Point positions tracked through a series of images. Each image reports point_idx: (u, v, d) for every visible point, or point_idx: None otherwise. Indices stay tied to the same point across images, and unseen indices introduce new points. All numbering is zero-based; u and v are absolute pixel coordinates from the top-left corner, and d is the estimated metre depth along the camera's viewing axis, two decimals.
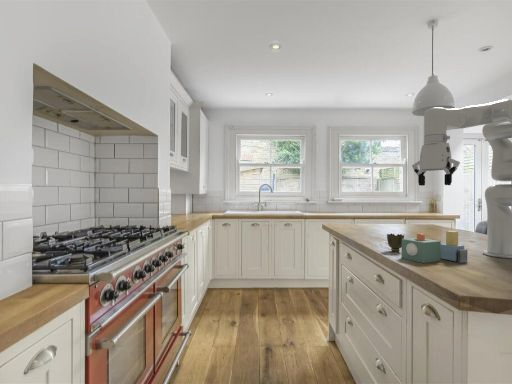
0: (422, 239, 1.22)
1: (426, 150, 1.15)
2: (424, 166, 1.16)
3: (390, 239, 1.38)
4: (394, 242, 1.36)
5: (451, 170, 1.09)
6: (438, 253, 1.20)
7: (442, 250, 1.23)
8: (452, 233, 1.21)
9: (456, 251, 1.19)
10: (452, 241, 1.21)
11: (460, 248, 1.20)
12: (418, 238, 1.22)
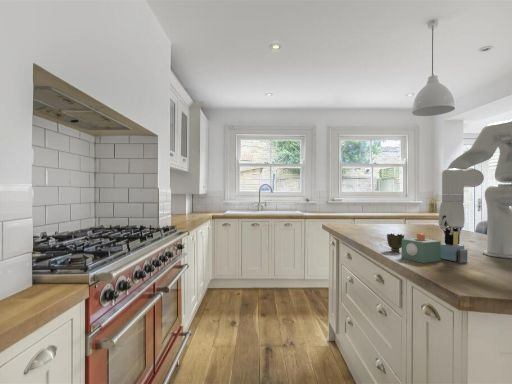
0: (422, 239, 1.22)
1: (455, 208, 1.19)
2: (453, 223, 1.19)
3: (390, 239, 1.38)
4: (394, 242, 1.36)
5: None
6: (438, 253, 1.20)
7: (442, 250, 1.23)
8: (452, 233, 1.21)
9: (456, 251, 1.19)
10: None
11: (460, 248, 1.20)
12: (418, 238, 1.22)
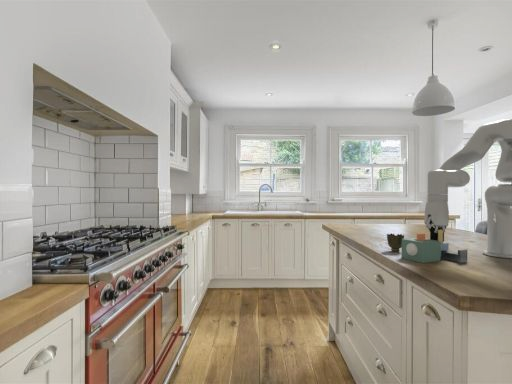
0: (422, 239, 1.22)
1: (440, 207, 1.25)
2: (437, 222, 1.25)
3: (390, 239, 1.38)
4: (394, 242, 1.36)
5: None
6: (438, 253, 1.20)
7: None
8: (437, 231, 1.26)
9: (440, 248, 1.25)
10: None
11: (444, 245, 1.26)
12: (418, 238, 1.22)
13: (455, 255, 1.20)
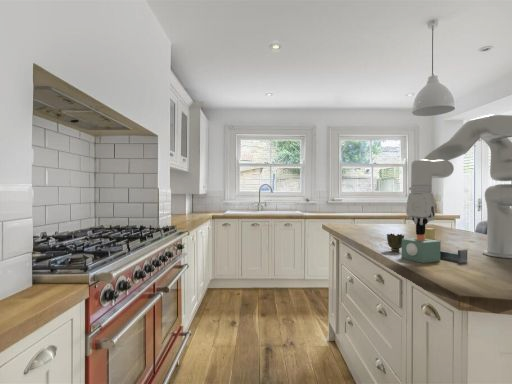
0: (422, 239, 1.22)
1: None
2: None
3: (390, 239, 1.38)
4: (394, 242, 1.36)
5: None
6: (438, 253, 1.20)
7: None
8: (429, 230, 1.30)
9: None
10: (429, 237, 1.30)
11: None
12: (418, 238, 1.22)
13: (455, 255, 1.20)
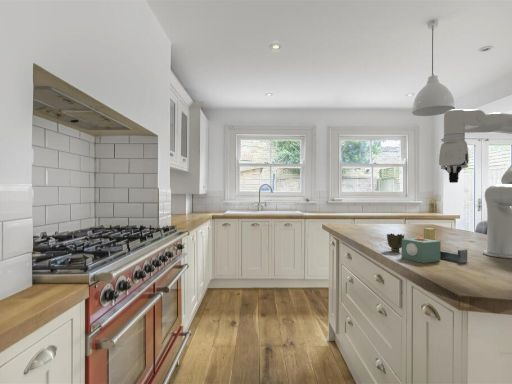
0: None
1: None
2: None
3: (390, 239, 1.38)
4: (394, 242, 1.36)
5: None
6: (438, 253, 1.20)
7: None
8: (429, 230, 1.30)
9: None
10: (429, 237, 1.30)
11: None
12: None
13: (455, 255, 1.20)
